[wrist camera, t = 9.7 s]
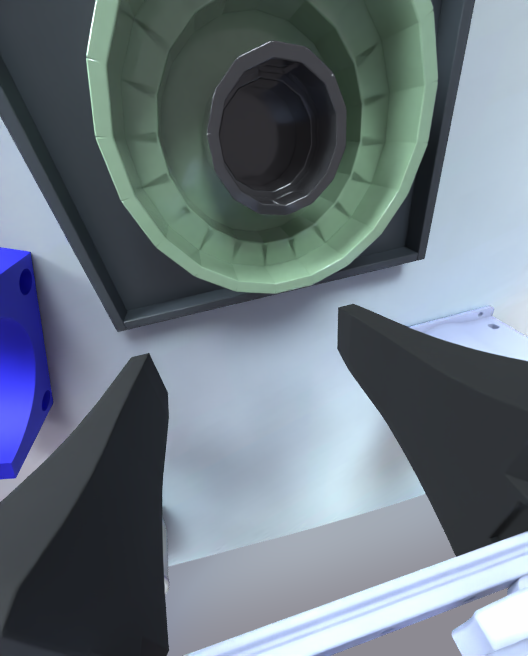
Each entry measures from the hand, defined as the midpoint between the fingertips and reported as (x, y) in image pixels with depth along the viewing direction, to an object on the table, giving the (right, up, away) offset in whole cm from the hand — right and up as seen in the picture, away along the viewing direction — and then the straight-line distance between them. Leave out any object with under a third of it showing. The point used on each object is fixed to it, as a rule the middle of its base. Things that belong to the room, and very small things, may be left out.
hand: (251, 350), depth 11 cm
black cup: (0, +11, +4) cm, 12 cm away
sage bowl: (0, +11, +5) cm, 12 cm away
